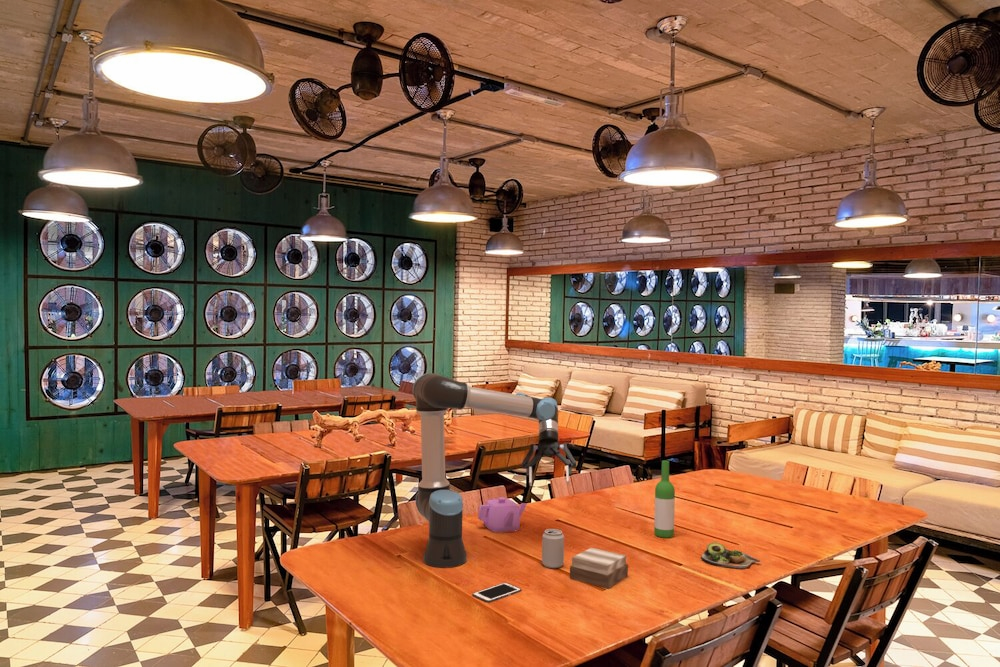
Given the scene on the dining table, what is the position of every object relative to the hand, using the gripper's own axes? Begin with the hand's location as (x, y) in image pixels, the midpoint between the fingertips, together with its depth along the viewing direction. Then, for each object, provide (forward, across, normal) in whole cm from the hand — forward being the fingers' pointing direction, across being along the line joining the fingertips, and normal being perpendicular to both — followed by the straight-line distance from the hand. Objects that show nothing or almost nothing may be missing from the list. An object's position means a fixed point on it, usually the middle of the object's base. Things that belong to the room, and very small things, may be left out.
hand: (549, 483), depth 247 cm
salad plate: (+20, -62, -24) cm, 69 cm away
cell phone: (+45, +16, +13) cm, 50 cm away
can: (+27, 0, -8) cm, 29 cm away
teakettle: (-1, +22, -38) cm, 44 cm away
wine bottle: (+2, -43, -42) cm, 60 cm away
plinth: (+34, -16, -2) cm, 38 cm away
